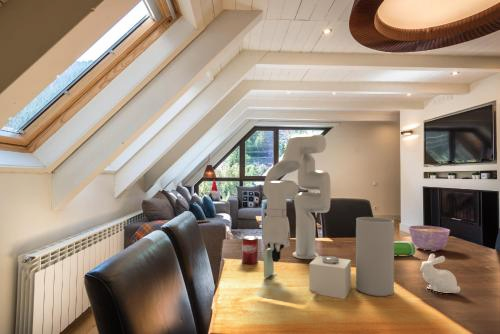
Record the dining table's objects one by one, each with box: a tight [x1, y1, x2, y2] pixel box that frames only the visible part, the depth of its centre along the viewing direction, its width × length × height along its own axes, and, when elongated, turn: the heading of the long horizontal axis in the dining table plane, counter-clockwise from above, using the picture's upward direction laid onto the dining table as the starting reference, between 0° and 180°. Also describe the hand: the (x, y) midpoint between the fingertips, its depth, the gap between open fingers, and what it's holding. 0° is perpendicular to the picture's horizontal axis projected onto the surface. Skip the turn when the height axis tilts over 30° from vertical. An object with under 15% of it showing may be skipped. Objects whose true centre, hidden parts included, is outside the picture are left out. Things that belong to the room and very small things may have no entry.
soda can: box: [241, 235, 259, 266], centre depth 144 cm, size 7×7×12 cm
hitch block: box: [308, 255, 352, 300], centre depth 114 cm, size 12×12×10 cm
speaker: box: [394, 240, 416, 257], centre depth 162 cm, size 18×7×8 cm, turn 93°
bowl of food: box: [408, 225, 451, 251], centre depth 177 cm, size 20×20×12 cm
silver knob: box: [322, 255, 340, 264], centre depth 114 cm, size 6×6×10 cm
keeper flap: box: [263, 247, 275, 279], centre depth 125 cm, size 7×1×10 cm, turn 154°
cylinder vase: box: [355, 216, 395, 297], centre depth 114 cm, size 12×12×25 cm
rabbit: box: [419, 253, 461, 295], centre depth 115 cm, size 12×9×12 cm
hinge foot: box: [266, 273, 278, 281], centre depth 125 cm, size 7×2×1 cm, turn 154°
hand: (276, 260), depth 124 cm, fingers closed
